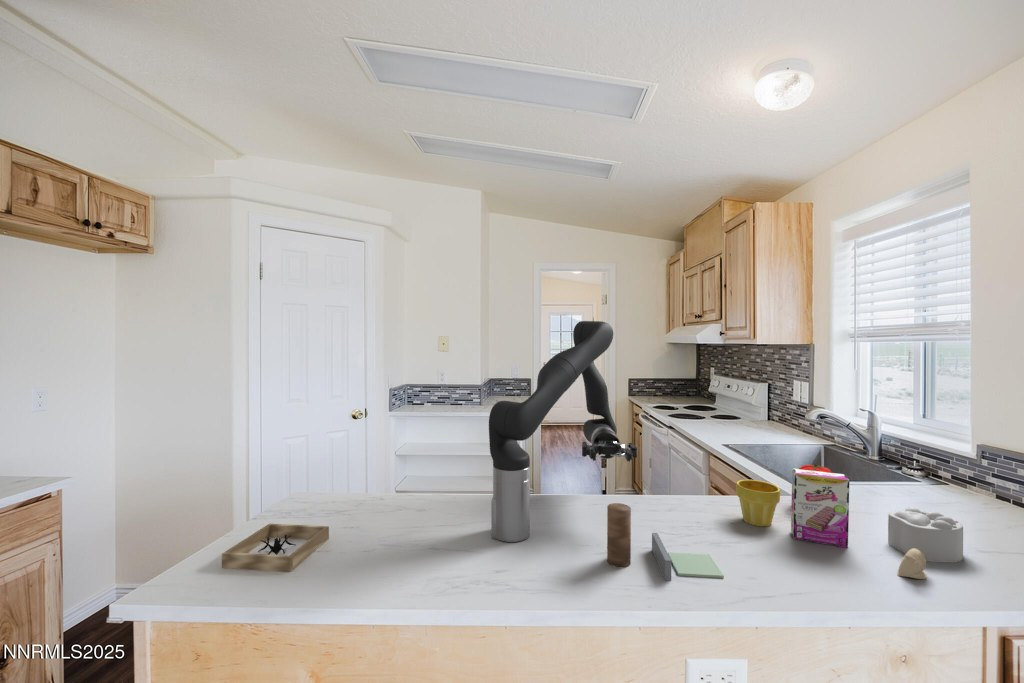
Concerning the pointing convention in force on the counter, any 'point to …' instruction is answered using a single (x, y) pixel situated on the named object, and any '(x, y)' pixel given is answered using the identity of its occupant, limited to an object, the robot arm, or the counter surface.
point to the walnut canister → (619, 535)
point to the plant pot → (757, 501)
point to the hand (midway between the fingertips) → (611, 457)
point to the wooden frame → (244, 560)
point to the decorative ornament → (913, 565)
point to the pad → (695, 565)
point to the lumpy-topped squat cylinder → (926, 534)
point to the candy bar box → (820, 507)
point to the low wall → (661, 556)
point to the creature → (276, 545)
